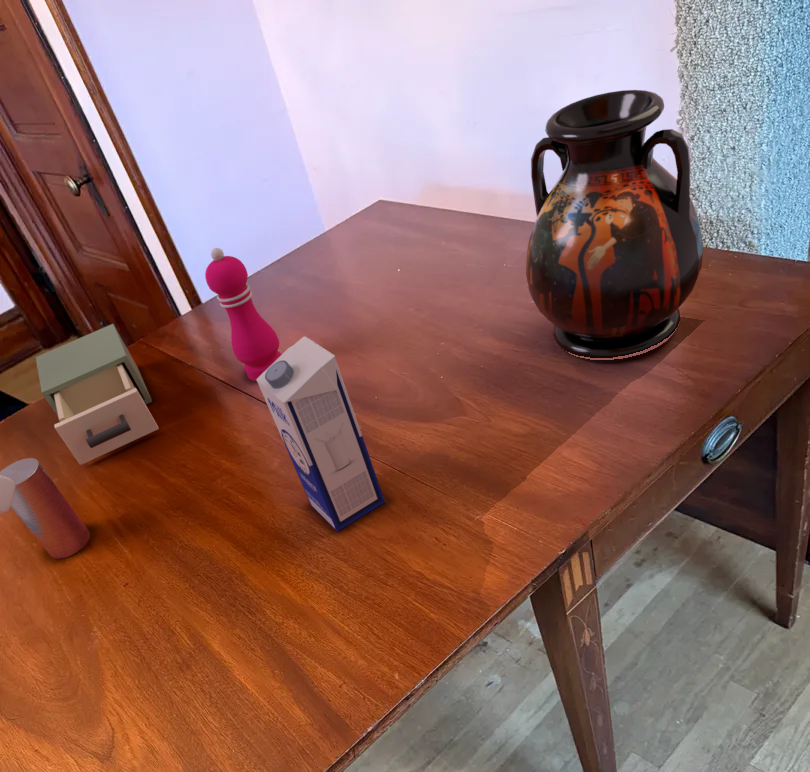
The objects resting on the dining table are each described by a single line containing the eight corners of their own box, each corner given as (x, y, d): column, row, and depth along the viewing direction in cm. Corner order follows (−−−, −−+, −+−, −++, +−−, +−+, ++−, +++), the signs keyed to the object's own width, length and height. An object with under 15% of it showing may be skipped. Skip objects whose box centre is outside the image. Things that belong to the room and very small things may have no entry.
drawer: (164, 441, 108) (142, 402, 104) (83, 479, 106) (57, 441, 102) (143, 392, 121) (123, 356, 117) (71, 425, 119) (47, 389, 115)
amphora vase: (509, 368, 102) (472, 152, 83) (574, 289, 113) (554, 83, 94) (667, 387, 90) (666, 141, 71) (722, 297, 101) (733, 64, 83)
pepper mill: (265, 355, 122) (215, 235, 109) (297, 360, 118) (249, 237, 105) (236, 379, 119) (180, 259, 105) (267, 386, 115) (213, 262, 101)
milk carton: (386, 502, 87) (334, 354, 74) (338, 532, 86) (276, 385, 72) (356, 477, 92) (303, 333, 79) (310, 505, 91) (248, 363, 77)
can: (51, 565, 95) (-7, 495, 87) (47, 541, 99) (-8, 471, 91) (92, 545, 96) (39, 473, 88) (87, 522, 100) (36, 451, 92)
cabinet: (152, 401, 120) (126, 355, 114) (72, 438, 118) (41, 392, 112) (137, 367, 131) (113, 323, 125) (63, 400, 129) (35, 357, 123)
